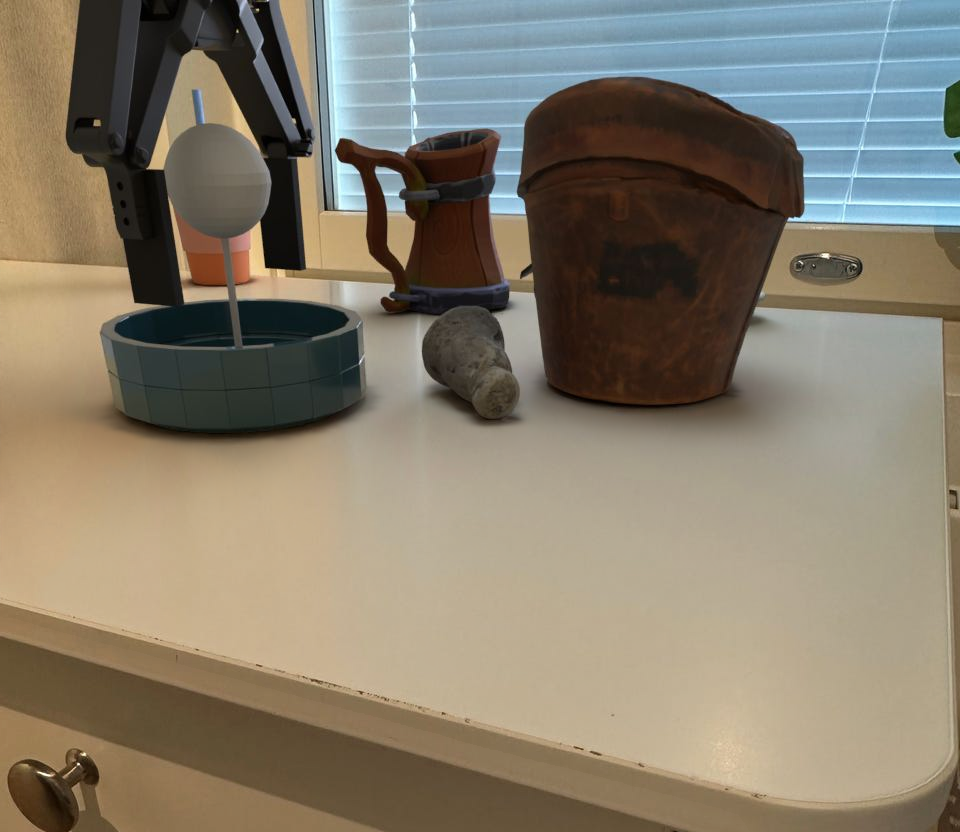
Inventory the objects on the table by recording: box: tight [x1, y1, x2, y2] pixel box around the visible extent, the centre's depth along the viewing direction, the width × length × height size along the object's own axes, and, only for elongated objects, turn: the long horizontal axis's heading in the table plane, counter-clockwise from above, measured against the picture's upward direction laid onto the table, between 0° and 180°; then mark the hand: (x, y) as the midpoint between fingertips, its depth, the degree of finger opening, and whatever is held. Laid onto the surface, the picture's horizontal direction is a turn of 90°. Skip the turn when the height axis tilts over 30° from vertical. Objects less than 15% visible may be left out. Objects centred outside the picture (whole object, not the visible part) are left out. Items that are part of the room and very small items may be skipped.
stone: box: [421, 306, 521, 420], centre depth 57 cm, size 10×5×8 cm
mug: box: [334, 128, 511, 315], centre depth 81 cm, size 18×12×15 cm, turn 132°
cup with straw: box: [172, 88, 252, 286], centre depth 93 cm, size 9×9×18 cm
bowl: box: [99, 297, 367, 434], centre depth 56 cm, size 16×16×5 cm
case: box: [516, 76, 806, 406], centre depth 58 cm, size 18×20×18 cm
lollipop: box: [162, 122, 271, 346], centre depth 53 cm, size 6×6×15 cm
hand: (229, 285), depth 54 cm, fingers open, 13 cm apart
